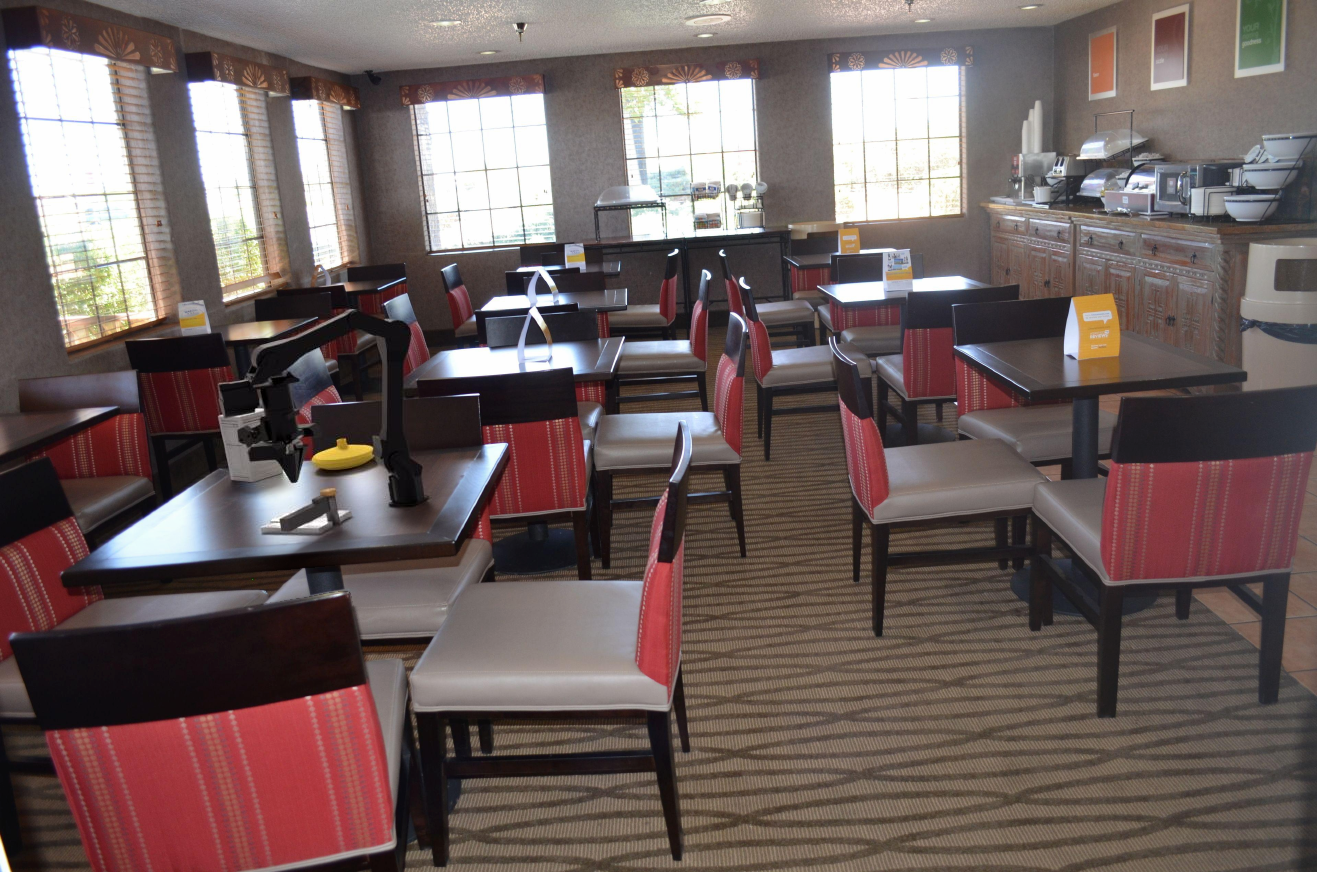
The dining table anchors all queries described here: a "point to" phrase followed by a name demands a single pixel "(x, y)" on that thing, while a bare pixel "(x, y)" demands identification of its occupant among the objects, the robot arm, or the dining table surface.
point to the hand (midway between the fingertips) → (294, 482)
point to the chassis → (315, 525)
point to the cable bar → (308, 511)
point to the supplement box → (245, 450)
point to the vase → (343, 456)
